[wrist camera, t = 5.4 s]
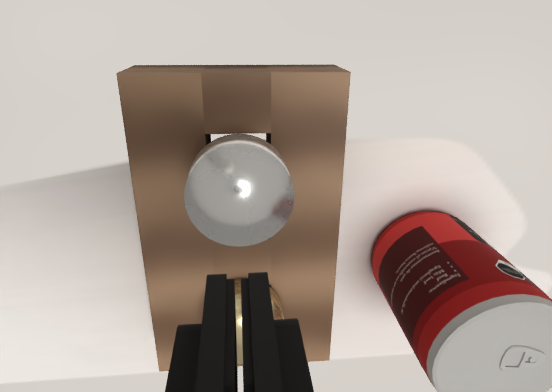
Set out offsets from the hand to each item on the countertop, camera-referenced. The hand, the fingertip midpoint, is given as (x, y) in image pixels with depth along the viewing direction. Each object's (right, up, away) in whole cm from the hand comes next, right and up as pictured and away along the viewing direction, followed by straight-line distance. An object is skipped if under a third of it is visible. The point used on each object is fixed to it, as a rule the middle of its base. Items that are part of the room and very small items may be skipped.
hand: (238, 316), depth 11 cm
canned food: (+12, -1, +20) cm, 23 cm away
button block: (-1, +2, +17) cm, 17 cm away
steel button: (-1, +6, +13) cm, 14 cm away
